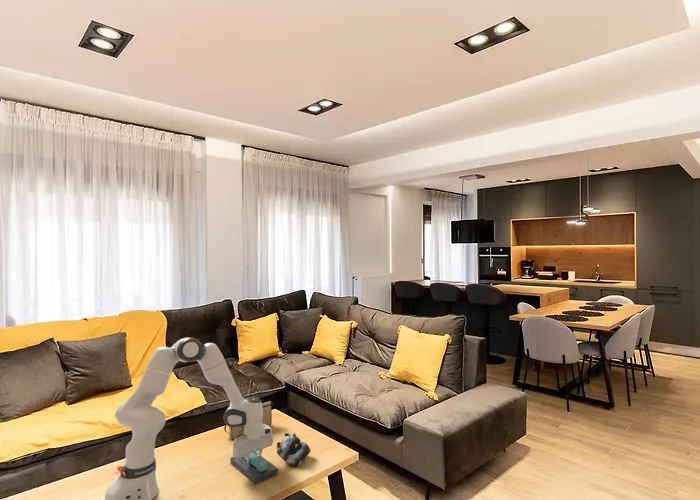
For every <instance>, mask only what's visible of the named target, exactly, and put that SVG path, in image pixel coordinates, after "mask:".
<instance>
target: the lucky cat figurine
mask: <svg viewBox="0 0 700 500" xmlns="http://www.w3.org/2000/svg"><path fill="white" fill-rule="evenodd" d="M311 451H312V449H311V448H310V446H309V445H308V444H307V443H306V442H302V441H301V439H300V438H299V436H297V435H296V433H295V432H292V434H289V433H287V432H285V433H284V435H283V438H282V440H281V441H278V442H276V454H277V455H278V457H280V458H281V459H282V460H283V461H284V462H285V463H286V464H287V466H289V467H290V468H297V467H299V466H300V465H301V464H302V463H304V461H305V459H306V457H307V456H308V455H309V454H311Z"/></svg>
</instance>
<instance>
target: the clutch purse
mask: <svg viewBox="0 0 700 500" xmlns="http://www.w3.org/2000/svg"><path fill="white" fill-rule="evenodd" d="M273 404H274V403H273V401H271V400H269V401H266V402H263V403H262V408H263V417H262V423H263V424H265V425H268V426H269V427H271V426H272V422H273V421H272V419H273V418H272V416H273V415H272V408H273V407H272V406H273ZM227 427H228V429H229V430H228V431H227ZM223 429H224V432H226V433H227V434H228V435H229V440H230V441H232V440H235V439H236V438H237V437H240V436H243V435H244V426H241V427H234V428H232V427H229V426H227V425H226V424H225V423H224V427H223Z"/></svg>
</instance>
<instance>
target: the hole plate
mask: <svg viewBox="0 0 700 500" xmlns="http://www.w3.org/2000/svg"><path fill="white" fill-rule="evenodd" d="M257 453H258V451H256V452H254V454H256V455H257ZM260 458H261V459H262V460H264V461H265V462H266V463H268V469H266V470H264V471H261V472H258V471H257V470H256V467H255V466H253V465H252V464H251V463H247V460H243V459H242V457H241V458H238V459H236V458H235V457H234V456H231V457H230V459H229V460H230V465H232V467H233V468H235V469H236V470H237V471H238V472H239V473H241V474H242V476H244V477H245V478H247V480H248V481H250V482H251V483H252V484H254V485H255V486H256V485H257V484H260V483H262V482H264V481H266V480H269V479H271V478H273V477H276V476H278V475H279V468H278V467H277V466H276V465H275V464H273V463H272V462H271V461H269V460H268V459H266V458H265V457H263V455H262V454H261V455H260Z"/></svg>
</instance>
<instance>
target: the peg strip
mask: <svg viewBox="0 0 700 500" xmlns="http://www.w3.org/2000/svg"><path fill="white" fill-rule="evenodd" d="M248 458H251V462H250V463H251V464H252V465H253V466H255V467H256V470H257V471H258V472H261V471H264V470H266V469H268V463H266V462H265V461H264V460H262V459H261V458H260V457H258V456H257V455H256V454H254V453H251V454H249V456H248ZM242 459H243V460H247V459H246V457H245V456H243V457H242Z"/></svg>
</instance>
